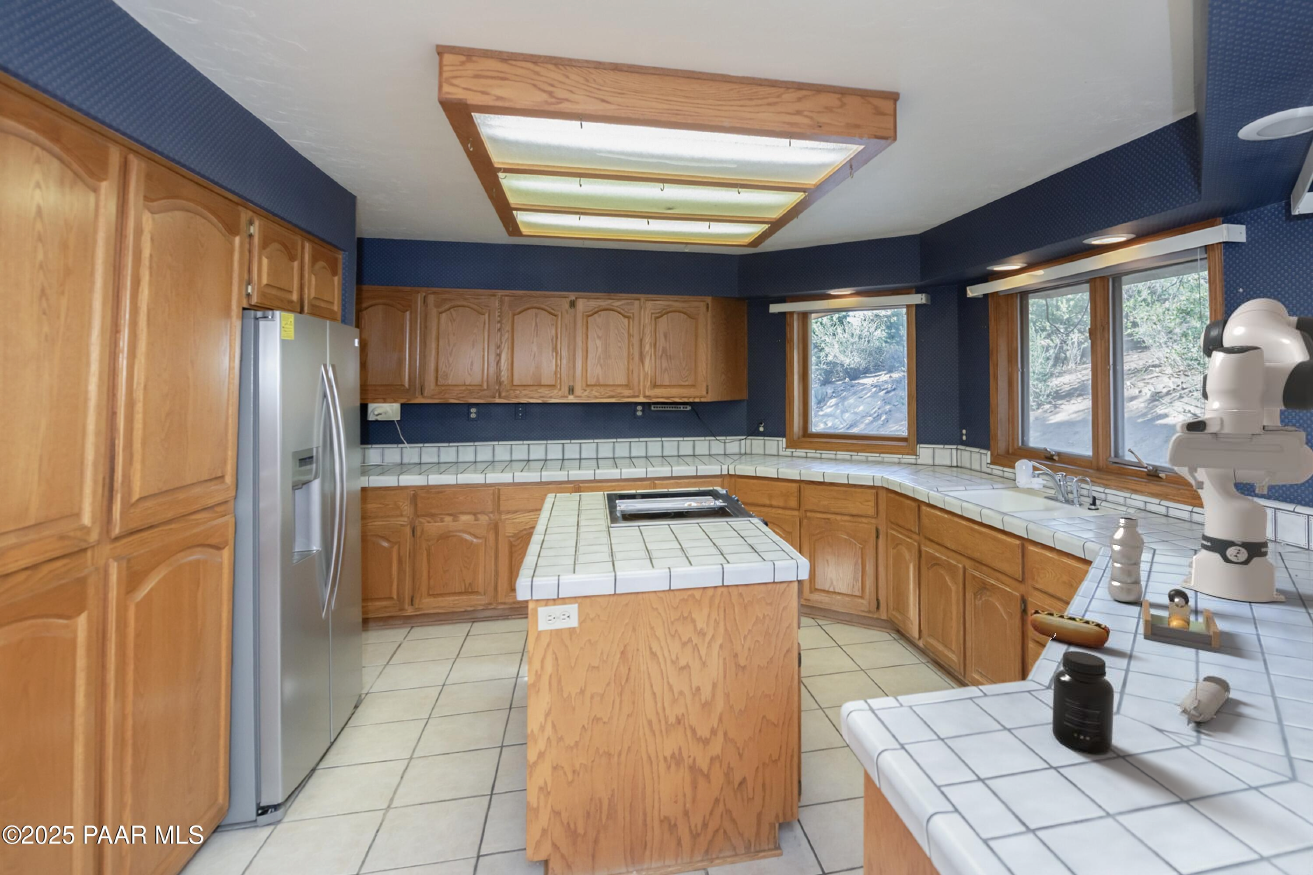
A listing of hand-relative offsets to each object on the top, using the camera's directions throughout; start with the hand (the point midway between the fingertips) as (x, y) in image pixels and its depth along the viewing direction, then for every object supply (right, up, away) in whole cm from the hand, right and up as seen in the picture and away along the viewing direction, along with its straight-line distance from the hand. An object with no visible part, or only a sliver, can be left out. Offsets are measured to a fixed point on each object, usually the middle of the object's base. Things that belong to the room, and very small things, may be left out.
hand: (1229, 491), depth 124 cm
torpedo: (-35, -31, -32) cm, 56 cm away
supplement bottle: (-60, -31, -41) cm, 79 cm away
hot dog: (-37, -30, -5) cm, 48 cm away
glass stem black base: (-12, -28, -1) cm, 30 cm away
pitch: (-11, -29, -1) cm, 31 cm away
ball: (-14, -27, -5) cm, 31 cm away
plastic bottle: (-6, -28, +19) cm, 35 cm away
